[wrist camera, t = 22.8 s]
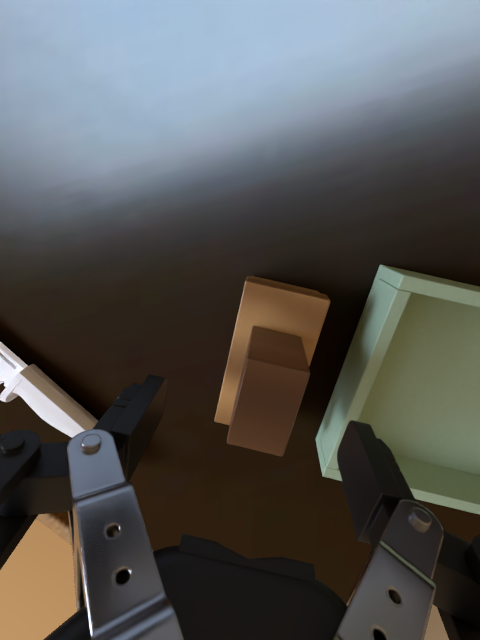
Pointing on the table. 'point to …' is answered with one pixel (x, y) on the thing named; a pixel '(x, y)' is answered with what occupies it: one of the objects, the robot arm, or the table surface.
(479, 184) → the table surface
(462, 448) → the tray
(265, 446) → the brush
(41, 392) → the knife
